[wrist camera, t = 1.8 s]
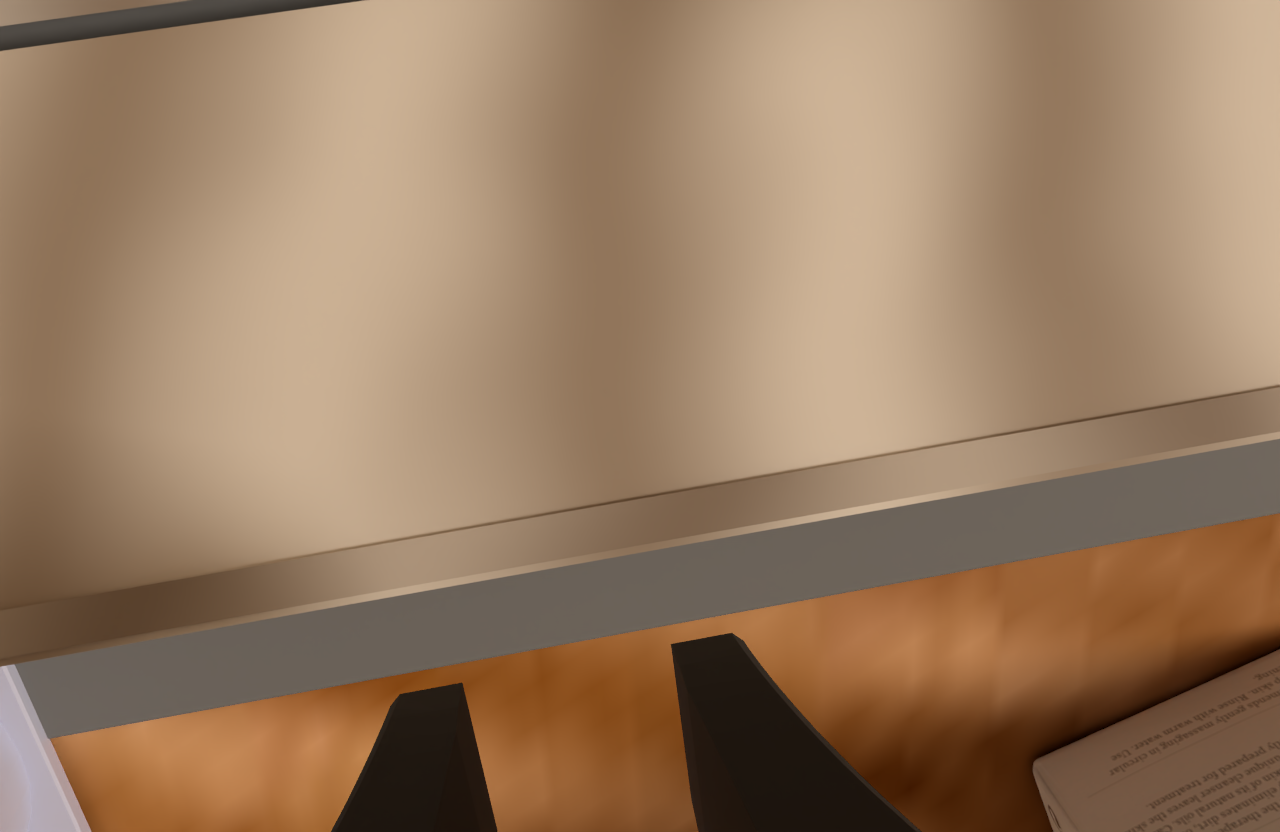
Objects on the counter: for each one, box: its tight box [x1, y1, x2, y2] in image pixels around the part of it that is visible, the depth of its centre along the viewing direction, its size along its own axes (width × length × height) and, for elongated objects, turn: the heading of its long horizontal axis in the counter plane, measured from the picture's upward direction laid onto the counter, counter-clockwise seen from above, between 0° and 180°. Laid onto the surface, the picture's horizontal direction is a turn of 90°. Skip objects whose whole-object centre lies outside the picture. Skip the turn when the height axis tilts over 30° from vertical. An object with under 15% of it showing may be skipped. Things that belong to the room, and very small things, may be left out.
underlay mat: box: [0, 0, 1280, 739], centre depth 17 cm, size 26×22×1 cm
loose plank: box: [0, 0, 1280, 667], centre depth 16 cm, size 22×8×1 cm
